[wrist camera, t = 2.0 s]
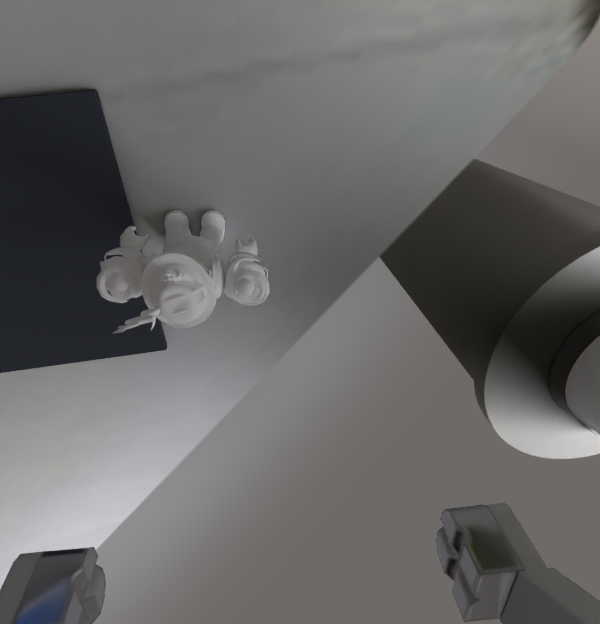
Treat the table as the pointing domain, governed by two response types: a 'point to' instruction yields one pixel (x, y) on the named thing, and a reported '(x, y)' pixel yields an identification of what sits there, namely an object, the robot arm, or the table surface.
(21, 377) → the table surface
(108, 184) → the mat
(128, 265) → the cartoon character statuette
